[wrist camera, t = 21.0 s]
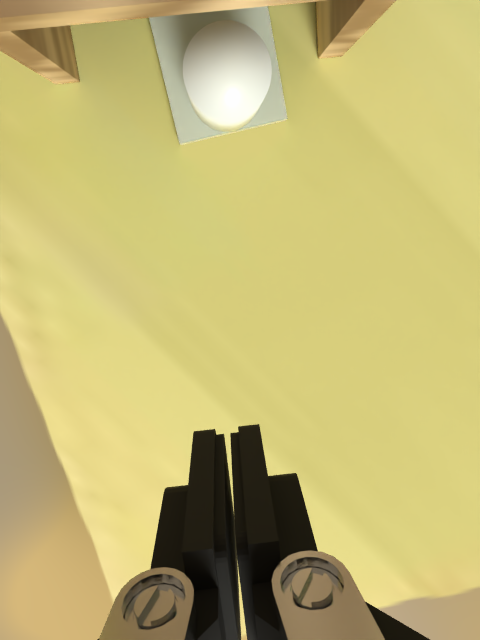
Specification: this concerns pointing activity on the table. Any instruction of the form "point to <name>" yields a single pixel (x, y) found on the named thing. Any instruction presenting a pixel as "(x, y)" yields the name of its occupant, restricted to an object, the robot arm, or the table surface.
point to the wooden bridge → (134, 3)
